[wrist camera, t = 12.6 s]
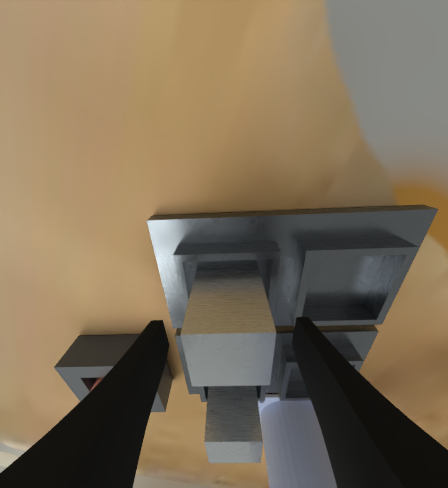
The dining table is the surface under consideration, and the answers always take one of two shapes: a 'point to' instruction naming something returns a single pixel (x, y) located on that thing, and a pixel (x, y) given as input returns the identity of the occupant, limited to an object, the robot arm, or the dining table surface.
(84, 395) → the box
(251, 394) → the billet
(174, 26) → the dining table surface
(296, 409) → the robot arm
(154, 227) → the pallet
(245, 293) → the billet
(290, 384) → the pallet
